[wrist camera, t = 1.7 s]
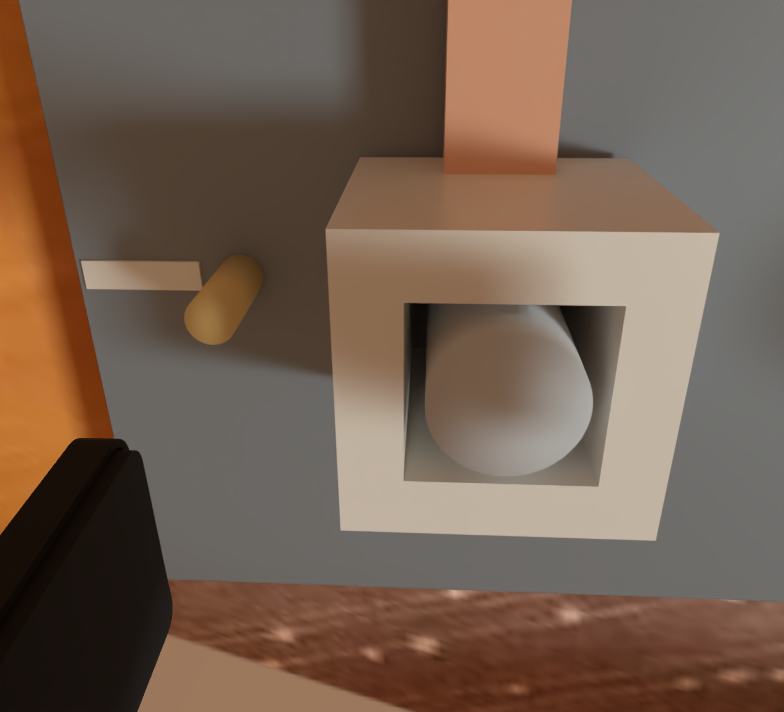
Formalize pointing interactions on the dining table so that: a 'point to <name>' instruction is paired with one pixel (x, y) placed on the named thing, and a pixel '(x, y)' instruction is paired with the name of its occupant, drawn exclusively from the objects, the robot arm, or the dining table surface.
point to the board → (430, 320)
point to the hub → (512, 296)
